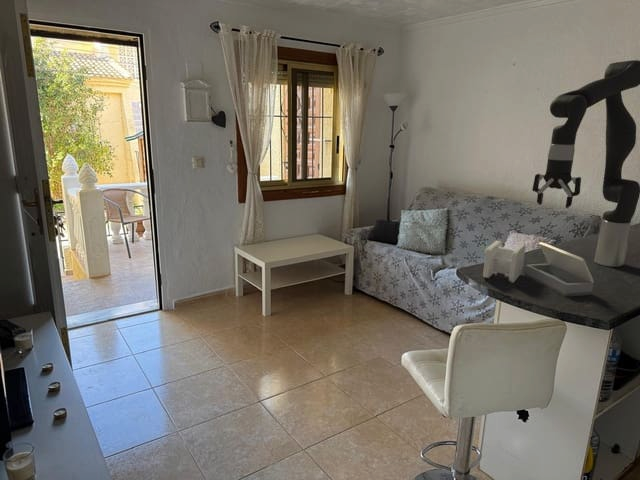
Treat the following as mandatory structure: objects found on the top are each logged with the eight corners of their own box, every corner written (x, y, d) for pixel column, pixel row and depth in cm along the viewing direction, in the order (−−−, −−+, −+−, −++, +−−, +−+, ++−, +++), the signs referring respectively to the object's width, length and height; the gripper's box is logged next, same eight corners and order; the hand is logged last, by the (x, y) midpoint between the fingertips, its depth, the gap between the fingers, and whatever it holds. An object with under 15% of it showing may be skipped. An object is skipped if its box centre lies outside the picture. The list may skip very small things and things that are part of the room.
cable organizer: (512, 286, 151) (517, 253, 148) (480, 279, 157) (484, 247, 154) (522, 274, 163) (526, 243, 160) (492, 268, 169) (496, 238, 165)
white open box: (547, 273, 164) (549, 263, 163) (591, 294, 145) (593, 283, 144) (523, 275, 162) (525, 264, 161) (564, 296, 143) (566, 284, 142)
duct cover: (548, 263, 163) (550, 261, 163) (592, 283, 144) (594, 281, 144) (538, 243, 159) (541, 241, 160) (582, 260, 141) (584, 258, 141)
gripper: (587, 158, 148) (578, 207, 153) (540, 156, 157) (534, 201, 162) (582, 160, 143) (574, 210, 147) (534, 157, 152) (528, 204, 156)
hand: (553, 205), depth 154 cm, fingers open, 8 cm apart
